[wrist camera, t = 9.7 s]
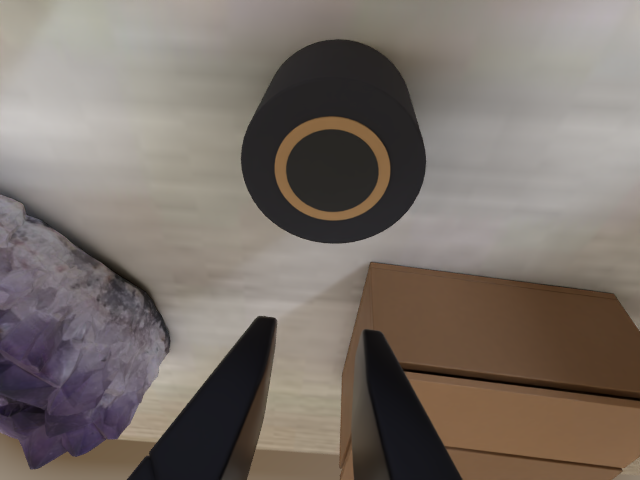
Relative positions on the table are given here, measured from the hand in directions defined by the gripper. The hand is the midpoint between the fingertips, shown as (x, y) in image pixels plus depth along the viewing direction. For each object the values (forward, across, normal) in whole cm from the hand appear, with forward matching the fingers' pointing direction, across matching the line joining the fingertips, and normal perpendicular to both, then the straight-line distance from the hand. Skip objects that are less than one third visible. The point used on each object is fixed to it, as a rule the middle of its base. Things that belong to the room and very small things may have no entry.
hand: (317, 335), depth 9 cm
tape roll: (+12, 0, 0) cm, 12 cm away
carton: (+12, -10, +13) cm, 21 cm away
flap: (+5, -10, +11) cm, 15 cm away
